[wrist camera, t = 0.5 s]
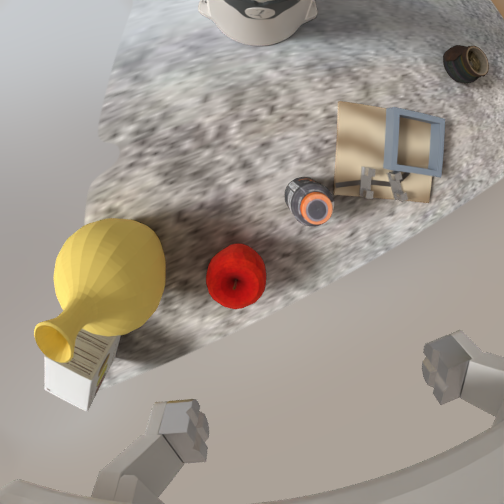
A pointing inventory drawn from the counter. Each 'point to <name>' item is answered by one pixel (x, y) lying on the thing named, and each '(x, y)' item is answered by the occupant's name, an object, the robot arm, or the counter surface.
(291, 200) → the pill bottle
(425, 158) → the board
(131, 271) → the vase
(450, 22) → the counter surface
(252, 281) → the apple
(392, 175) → the clips
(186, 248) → the counter surface
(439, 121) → the end holder
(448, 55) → the mate gourd
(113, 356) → the supplement box
